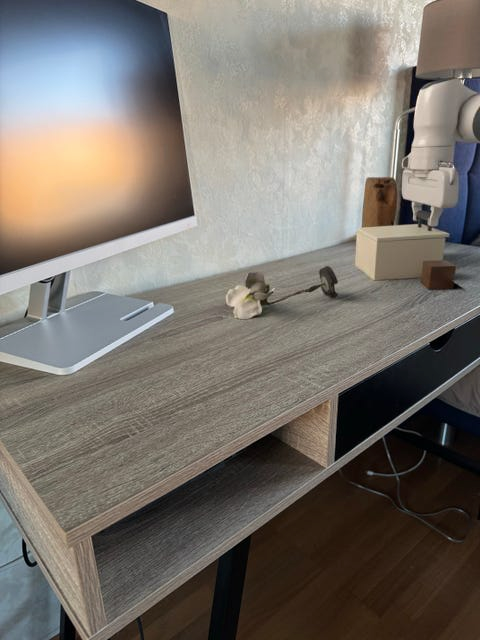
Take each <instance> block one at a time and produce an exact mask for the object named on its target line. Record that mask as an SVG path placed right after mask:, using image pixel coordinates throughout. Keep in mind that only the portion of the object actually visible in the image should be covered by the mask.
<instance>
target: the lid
mask: <svg viewBox="0 0 480 640" xmlns="http://www.w3.org/2000/svg"><path fill="white" fill-rule="evenodd" d="M416 215H417V217H418V221H417V223H414V224H399V225H398V224H397V225H396V224H395V225H393V226H380V227H364V228H362V227H357V228H356V232H357V231H358V232H360V233H362V234H364V235H366V236H367V237H369V238H371V239H373V240H375V241H377V242H379V241H395V240H410V239H426V238H442V237H444V238H450V233H448V232H446V231H443V230H440V229H437V228H434V227H433V226H429V225H428V224H427V225H426V224H423V220H424V221H428V218H430V215H431V212H429V211H426V210H423V209H422V210H419V211H418V212H417V214H416ZM422 219H423V220H422Z"/></svg>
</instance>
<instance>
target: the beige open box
mask: <svg viewBox="0 0 480 640" xmlns="http://www.w3.org/2000/svg"><path fill="white" fill-rule="evenodd" d="M355 240H356V242H355V258H354V259H355V260H354V266H355V267H356V268H357V269H358V270H360V271H361V272H362V273H364V274H365V275H367V276H368V277H369V278H370V279H371V280H373V281H386V280H403V279H405V280H406V279H418V278H419V279H421V276H422V267H423V261H436V260H444V253H445V245H446V237H442V238H426V239H410V240H395V241H379V242H377V241H375V240H373V239H371V238H369V237H367V236H366V235H364V234H362V233H360V232H358V231H357V230H356V239H355Z"/></svg>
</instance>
